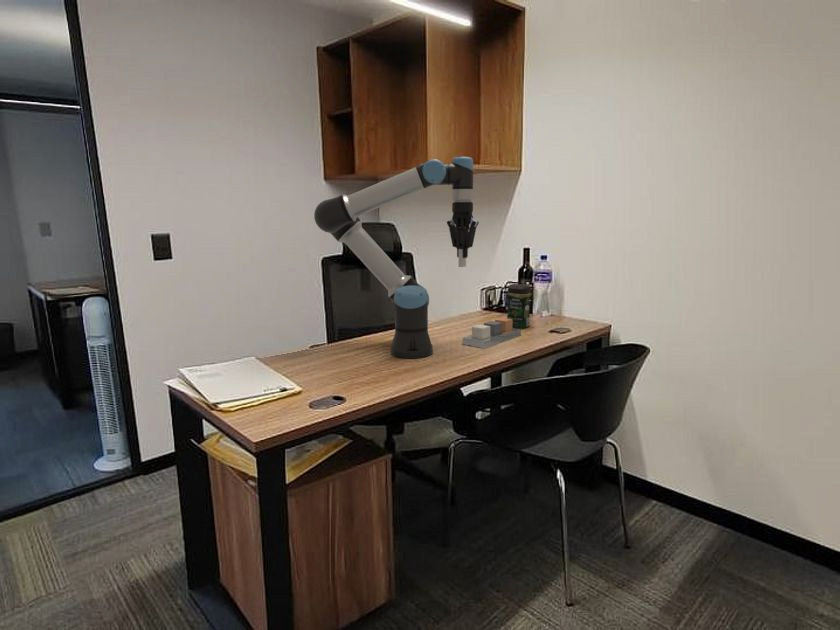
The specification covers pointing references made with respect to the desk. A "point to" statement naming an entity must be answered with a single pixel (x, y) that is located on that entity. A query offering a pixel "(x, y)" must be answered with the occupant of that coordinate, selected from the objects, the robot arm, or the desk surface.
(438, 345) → the desk surface
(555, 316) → the desk surface
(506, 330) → the key terracotta
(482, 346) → the panel
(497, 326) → the block
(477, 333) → the key ivory
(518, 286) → the coffee jar
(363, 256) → the robot arm
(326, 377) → the desk surface
